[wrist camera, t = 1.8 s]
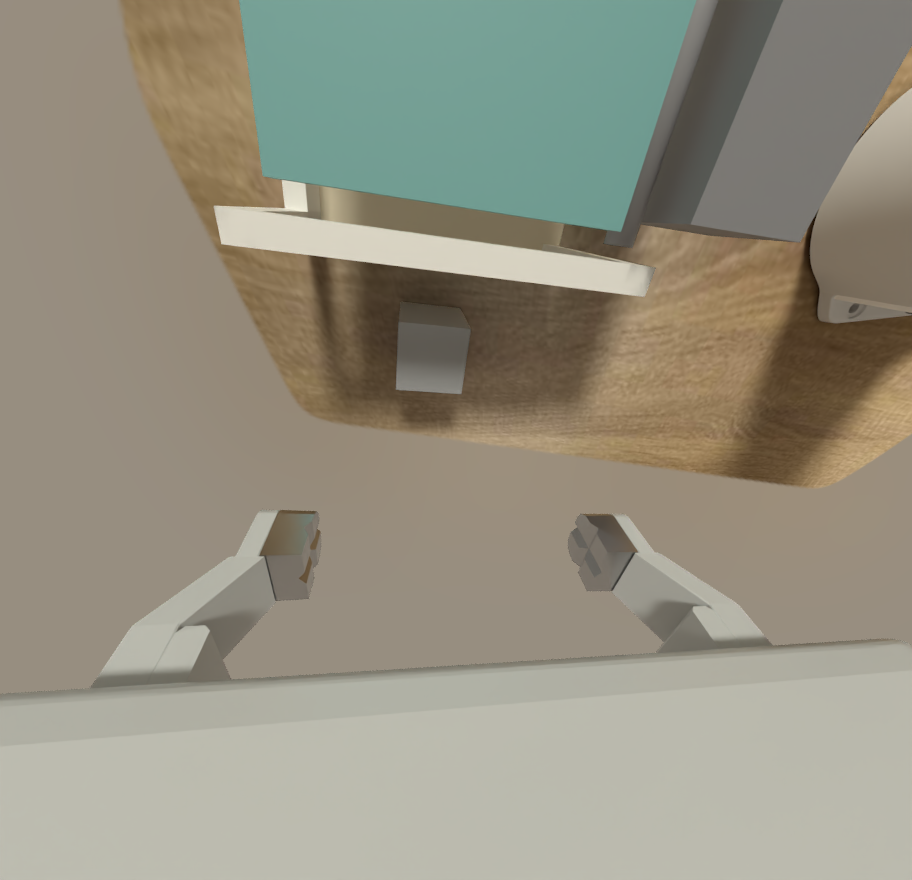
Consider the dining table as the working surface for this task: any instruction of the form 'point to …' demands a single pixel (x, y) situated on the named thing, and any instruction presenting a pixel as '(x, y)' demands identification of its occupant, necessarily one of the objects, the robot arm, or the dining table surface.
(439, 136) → the trapdoor
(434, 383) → the grey block
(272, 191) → the dining table surface
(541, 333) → the dining table surface
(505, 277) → the frame
